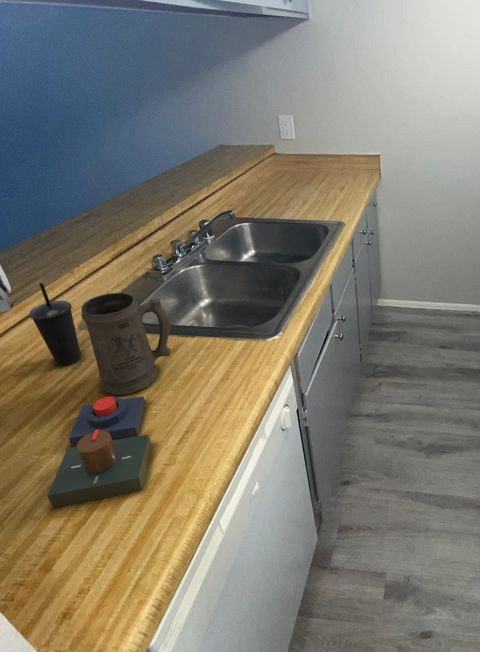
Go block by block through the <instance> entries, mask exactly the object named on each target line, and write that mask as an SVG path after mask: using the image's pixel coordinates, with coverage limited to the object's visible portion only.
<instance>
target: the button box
mask: <svg viewBox="0 0 480 652" xmlns="http://www.w3.org/2000/svg"><path fill="white" fill-rule="evenodd" d="M111 397H112V396H111ZM112 398H114V399H115V402H116V405H117V409H116V411H114V412H113V413H111V414H109V415H107V416H102V417H99V416H97V415H96V414H95V411H94V408H93V405H94V403H90V404H83V405H82V406H81V408H80V410H79V413H78V415H77V418H76V420H75V422H74V424H73V426H72V429H71V431H70V434H69V435H68V440H69V443H70V447H71V448H73V447H77V444H78V442H79V440H80V439H81V438H83V437H84V436H85V435H87V434H89V433H91V432H95V430H98V429H99V431H101V430H102V431H107V432H109V433H110V436H111V438H112V441H113V440H119V439H125V438H131V437H136V436H139V433H140V428H141V424H142V421H143V417H144V413H145V409H146V405H147V403H146V400H145V396H144V395H142V396H135V397H130V398H129V397H128V398H121V397H117V396H113V397H112Z"/></svg>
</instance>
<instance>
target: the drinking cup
mask: <svg viewBox="0 0 480 652" xmlns="http://www.w3.org/2000/svg"><path fill="white" fill-rule="evenodd" d="M38 285H39V288H40V291H41V293H42V296H43V298H44V301H45V302H44V303H42V304H39V305H37V306H36V307H33V308H32V309H31V310H30V311H29V313H28V316H29V318H30V319H31V320H33V322H34V324H35V326H36V328H37V330H38V332H39V334H40V336H41V337H42V339H43V342H44V343H45V345H46V347H47V348H48V351H49V352H50V354H51V356H52V358H53V360H54V362H55V363H56V365H57V366H60V367H67V366H70V365H73V364H76V363H78V362H79V361H80V360H81V358H82V353H81V349H80V345H79V341H78V336H77V331H76V327H75V322H74V318H73V313H72V309H73V305H72V304H71V302H69V301H66V300H53V301H50V298H49V295H48V292H47V290H46V287H45V285H44V282H40V283H39V284H38Z"/></svg>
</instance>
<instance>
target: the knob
mask: <svg viewBox="0 0 480 652" xmlns="http://www.w3.org/2000/svg"><path fill="white" fill-rule="evenodd" d="M76 447H77V450H78V452H79V455H80V457H81V460H82V462H83V465H84V467H85V470H86V471H87V472H88V473H91V474H97V473H101V472H104V471H106V470H108V469H110V468H111V467H112V466H113V465H114V464H115V463H116V461H117V459H118V456H117V453H116V450H115V447H114V444H113V440H112V438H111V436H110V433H109V432H107V431H102V430H101V431H99V429H98V430H95V432H91V433H89V434H87V435H85V436H84V437H83V438H81V439H80V440H79V442H78V444H77V446H76Z"/></svg>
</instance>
